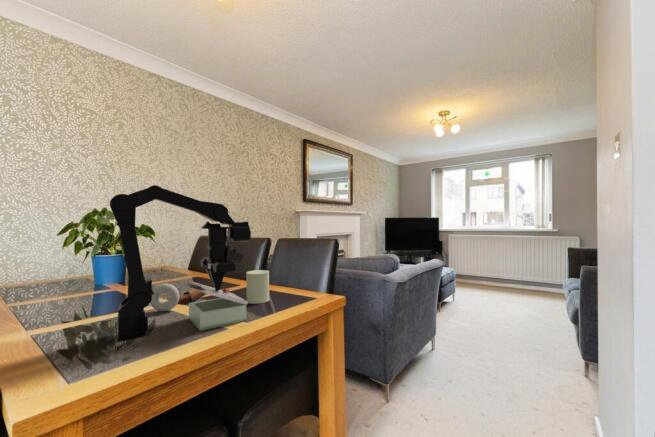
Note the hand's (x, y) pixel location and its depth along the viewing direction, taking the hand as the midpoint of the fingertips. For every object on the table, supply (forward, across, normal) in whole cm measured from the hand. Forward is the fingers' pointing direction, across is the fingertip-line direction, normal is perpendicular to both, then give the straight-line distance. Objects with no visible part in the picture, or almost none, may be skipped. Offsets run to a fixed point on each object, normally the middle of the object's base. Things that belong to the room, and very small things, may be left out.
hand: (217, 290), depth 94 cm
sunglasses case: (+10, +35, 0) cm, 36 cm away
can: (+10, +13, -20) cm, 26 cm away
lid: (+1, 0, +1) cm, 1 cm away
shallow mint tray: (+9, 0, 0) cm, 9 cm away
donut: (+10, +21, +12) cm, 26 cm away
